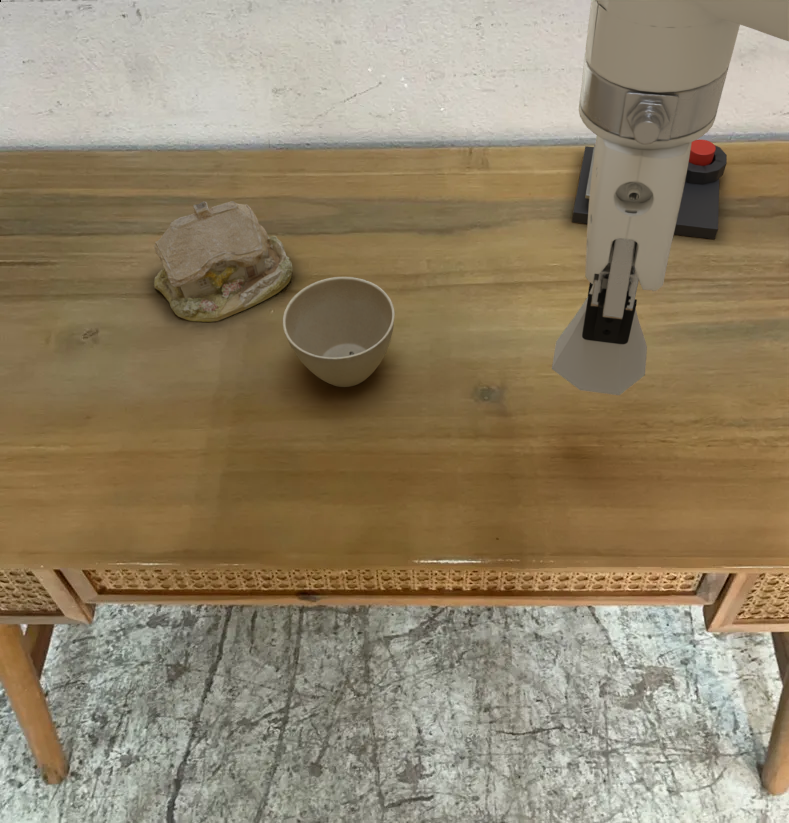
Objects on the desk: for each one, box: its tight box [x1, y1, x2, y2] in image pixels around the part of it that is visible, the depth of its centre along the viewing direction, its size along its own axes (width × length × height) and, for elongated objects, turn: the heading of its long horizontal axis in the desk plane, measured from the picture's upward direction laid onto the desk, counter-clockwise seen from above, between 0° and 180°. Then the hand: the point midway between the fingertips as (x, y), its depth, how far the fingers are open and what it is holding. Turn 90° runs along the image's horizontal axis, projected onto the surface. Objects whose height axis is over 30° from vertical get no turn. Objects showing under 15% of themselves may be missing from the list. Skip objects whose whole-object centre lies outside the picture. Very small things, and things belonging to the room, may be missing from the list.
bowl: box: [282, 276, 396, 388], centre depth 77 cm, size 10×10×7 cm
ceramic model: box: [153, 200, 293, 323], centre depth 84 cm, size 14×11×10 cm
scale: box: [571, 144, 728, 240], centre depth 92 cm, size 15×13×3 cm
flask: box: [551, 278, 648, 396], centre depth 60 cm, size 7×7×10 cm
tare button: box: [689, 139, 716, 166], centre depth 91 cm, size 3×3×2 cm
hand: (607, 317), depth 60 cm, fingers closed on flask, 3 cm apart
